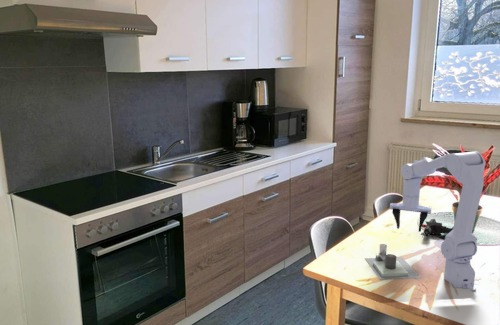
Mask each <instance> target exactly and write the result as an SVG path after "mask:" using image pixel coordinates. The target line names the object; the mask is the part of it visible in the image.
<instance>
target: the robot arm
mask: <svg viewBox="0 0 500 325" xmlns="http://www.w3.org/2000/svg"><path fill="white" fill-rule="evenodd" d="M420 159H421V160H413V162H412V163H404V164H403V165H402V166H401V169H400V172H401V173H400V175H401V176H402V178H403V188H402V189H403V191H402V202H401V203H399V202H397V203H395V202H394V203H393V202H390V204H389V210H392V212H391V213H392V215H393V217H394V220H395V223H396V229H397V230H398V229H400V227H401V226H400V225H401V219H400V218H401V211H406V212H413V213H414V212H415V213H420V214H419V225H418V232H421V231H422V228H423V227H422V225H423V224H424V222H425V221H426V219H427V217H428V215H432V207H430V206H429V207H428V206H424V205H420V192H421V183H423V178H424V177H425V176H429V175H433V174H434V173H436V171H437V169H441V168H444V169H447V171H448V172H449V173H450V174H451V175H452V176H453V178H454V179H455V180H456V181H457V182H459V183H460V184H462V187H461V188H462V189H461V190H460V191H461V192H460V197H459V201H458V206H457V209H456V214H455V217H454V224H453V226H452V227H453V228H452V229H453V230H452V231H451V232H449V233H446V235H445V237H444V240H443V241H442V243H441V245H440V251H441V253H442V255H443V257H444V259H445V266H444V273H443V274H444V277H443V278H444V280H445V281H446V282H448V283H449V284H451V285H452V286H453V287H454V288H455V289H460V288H461V289H463V288H464V289H469V290H470V291H477V289H476V287H475V277H476V271H475V269H474V268H473V266H472V265H471V260H472V259H473V256H475V255H476V254H477V252H478V245H477V242H478V237H477V236H476V235H475V234H474V233H473V230H474V225H475V220H476V217H477V213H478V209H479V206H480V202H481V201H480V200H481V197H482V192H483V188H484V185H485V183H484V182H485V181H484V171H485V169H486V168H485V167H486V164H487V163H486V160H485V159H484V157H483V155H482V154H481V153H480V152H479V151H477V150H473V151H466V152H458V153H457V152H456V153H454V152H453V153H447V154H444V155H441V156H438V157H436V158H430V157H427V156H424V157H421V158H420Z"/></svg>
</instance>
